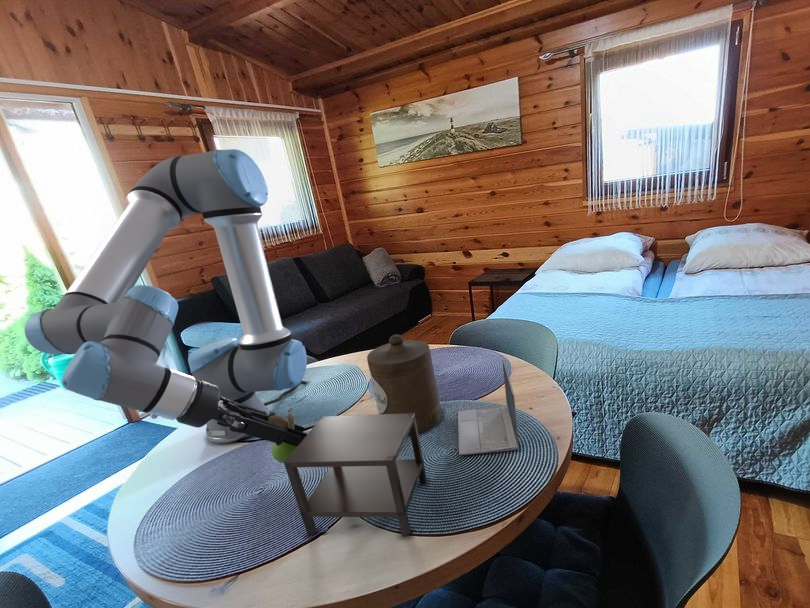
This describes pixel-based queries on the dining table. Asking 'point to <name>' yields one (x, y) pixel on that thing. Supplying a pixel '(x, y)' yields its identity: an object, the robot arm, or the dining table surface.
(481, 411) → the laptop
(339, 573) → the dining table surface
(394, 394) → the wooden container
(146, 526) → the dining table surface
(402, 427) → the rack
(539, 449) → the dining table surface
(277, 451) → the snail figurine
